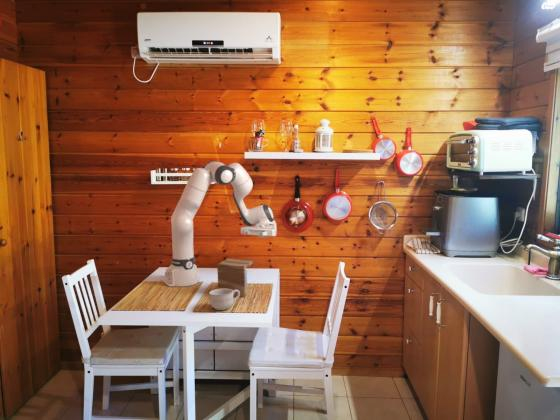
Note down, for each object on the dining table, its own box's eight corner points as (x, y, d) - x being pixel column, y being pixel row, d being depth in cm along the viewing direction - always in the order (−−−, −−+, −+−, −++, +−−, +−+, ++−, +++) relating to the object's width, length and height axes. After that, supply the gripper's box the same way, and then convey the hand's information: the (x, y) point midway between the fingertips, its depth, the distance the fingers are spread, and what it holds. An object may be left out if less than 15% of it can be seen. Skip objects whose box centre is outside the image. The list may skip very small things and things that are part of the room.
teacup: (210, 313, 195) (209, 295, 194) (209, 305, 206) (208, 288, 204) (242, 310, 198) (241, 293, 197) (239, 302, 208) (238, 286, 207)
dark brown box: (228, 287, 231) (228, 258, 229) (254, 289, 227) (253, 260, 225) (218, 294, 220) (217, 264, 218) (244, 297, 215) (243, 266, 213)
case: (240, 286, 233) (240, 269, 232) (247, 286, 232) (246, 270, 231) (229, 294, 220) (229, 276, 219) (236, 295, 219) (235, 277, 218)
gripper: (245, 223, 259) (235, 227, 246) (278, 225, 253) (270, 229, 240) (245, 233, 260) (236, 238, 247) (278, 236, 253) (270, 240, 240)
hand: (253, 233), depth 243 cm, fingers open, 8 cm apart
